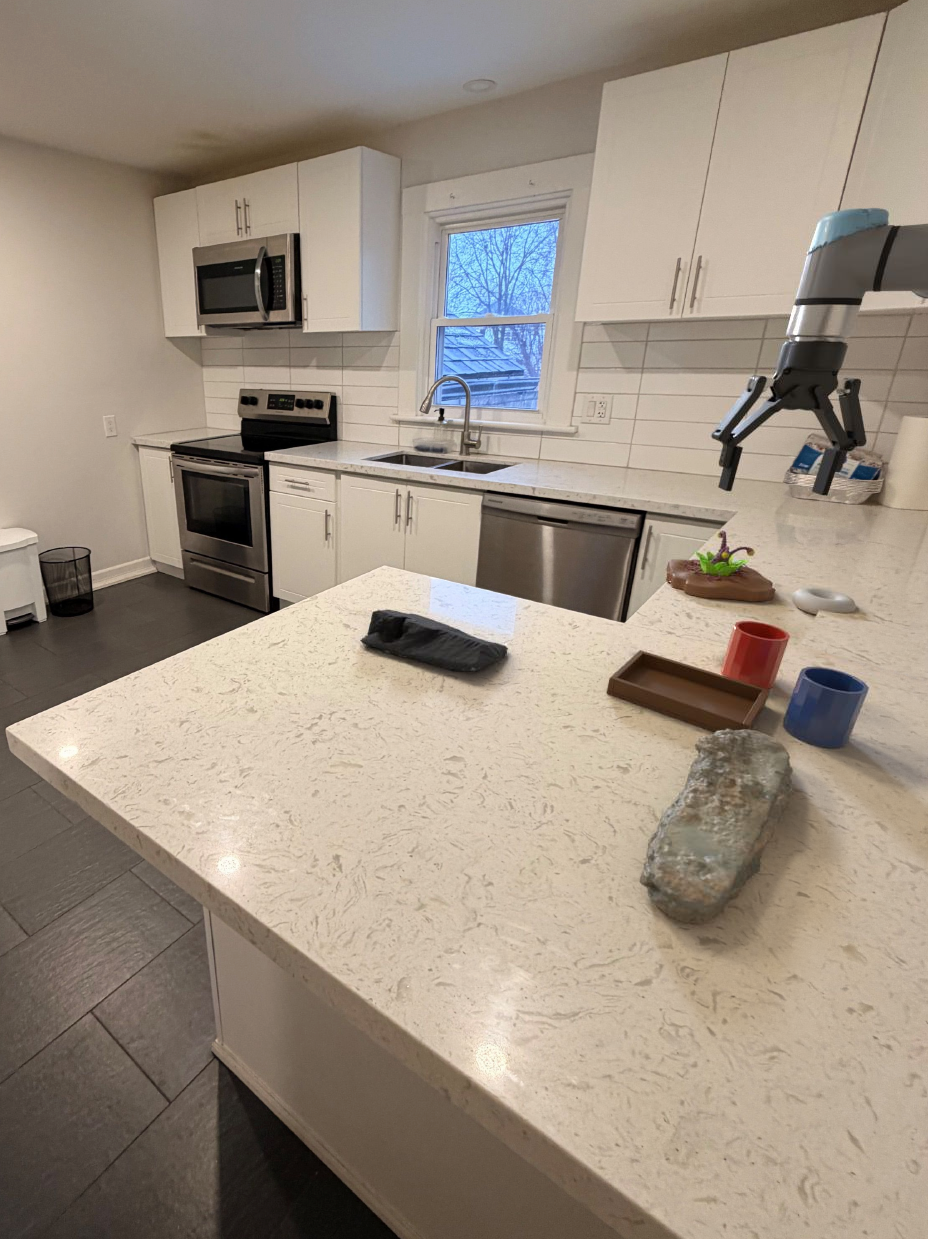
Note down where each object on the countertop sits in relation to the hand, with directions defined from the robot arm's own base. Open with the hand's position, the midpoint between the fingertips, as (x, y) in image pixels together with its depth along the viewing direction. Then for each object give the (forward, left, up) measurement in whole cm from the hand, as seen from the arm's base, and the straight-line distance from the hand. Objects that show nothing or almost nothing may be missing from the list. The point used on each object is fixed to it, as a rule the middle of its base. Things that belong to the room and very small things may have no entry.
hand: (771, 491), depth 97 cm
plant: (+10, -34, -27) cm, 44 cm away
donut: (-9, -33, -27) cm, 43 cm away
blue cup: (-15, +20, -27) cm, 37 cm away
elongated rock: (-10, +48, -27) cm, 56 cm away
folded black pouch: (+35, +35, -27) cm, 57 cm away
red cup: (-5, +9, -27) cm, 29 cm away
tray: (0, +23, -27) cm, 35 cm away
